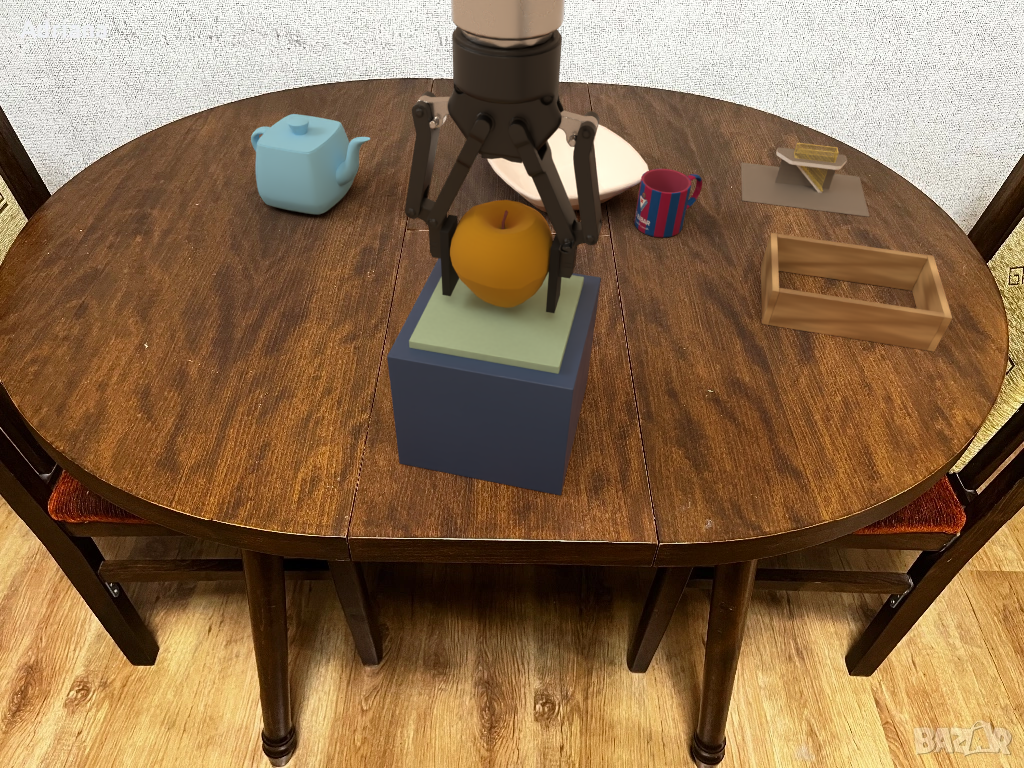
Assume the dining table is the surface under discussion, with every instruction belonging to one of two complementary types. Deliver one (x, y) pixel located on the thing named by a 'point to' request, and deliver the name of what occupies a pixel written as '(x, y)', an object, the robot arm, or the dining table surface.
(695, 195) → the mug
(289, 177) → the teapot
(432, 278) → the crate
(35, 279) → the dining table surface
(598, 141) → the bowl
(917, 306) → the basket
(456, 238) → the apple
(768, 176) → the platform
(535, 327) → the mat
